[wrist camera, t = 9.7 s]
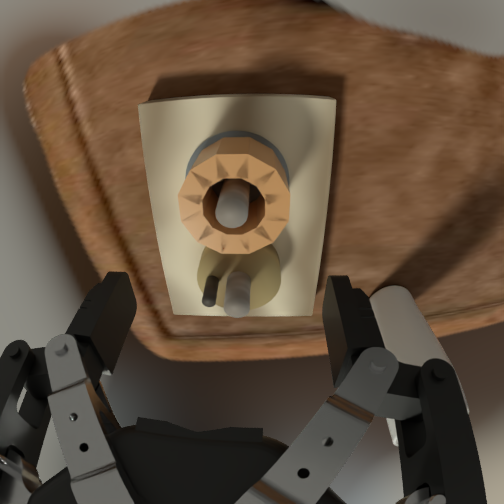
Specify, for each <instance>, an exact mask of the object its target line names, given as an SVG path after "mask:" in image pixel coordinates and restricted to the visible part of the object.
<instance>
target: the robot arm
mask: <svg viewBox="0 0 504 504" xmlns="http://www.w3.org/2000/svg"><path fill="white" fill-rule="evenodd" d="M136 309H137V303H136V298H135V295H134V292H133V289H132V286H131V282H130V279H129V276H128V274H127V273H126V272H108V273H107V275H106V276H105V278H104V280H103V281H102V283H98V284H97V285H95V286H94V287H93V288H92V289H91V290H90V291H89V292H88V294H87V296H86V298H85V299H84V301H83V303H82V304H81V306H80V309H79V310H78V311H77V313H76V315H75V317H74V319H73V320H72V322H71V324H70V326H69V328H68V329H67V331H66V333H65V334H61V335H58V336H56V337H54V338H52V339H51V340H50V341H49V342H48V344H47V346H46V347H42V348H35V349H31V348H30V347H29V345H28V344H27V343H26V342H25V341H24V340H16V341H14V342H12V343H10V344H9V345H8V346H7V347H6V348H5V350H4V352H3V354H2V356H1V357H0V504H346V503H345V502H344V501H343V500H342V499H341V498H340V497H339V496H338V495H337V494H336V493H335V492H334V491H333V490H331V488H330V487H329V485H330V484H331V483H332V481H333V480H334V478H335V477H336V476H337V474H338V473H339V472H340V470H341V469H342V467H343V466H344V464H345V463H346V461H347V460H348V458H349V457H350V455H351V454H352V452H353V451H354V449H355V448H356V446H357V445H358V443H359V441H360V440H361V438H362V437H363V435H364V433H365V432H366V430H367V428H368V427H369V425H370V423H371V422H372V420H373V417H374V416H379V417H385V418H390V419H394V420H395V426H396V433H397V439H398V447H399V454H400V462H401V471H402V480H403V492H404V498H402V499H401V500H399V501H398V502H396V504H487V500H486V493H485V487H484V481H483V475H482V470H481V465H480V460H479V455H478V451H477V446H476V442H475V438H474V434H473V430H472V426H471V422H470V418H469V415H468V411H467V408H466V404H465V401H464V398H463V394H462V391H461V388H460V385H459V382H458V379H457V376H456V373H455V370H454V369H453V367H452V366H451V365H450V364H449V363H448V362H446V361H445V360H442V359H439V358H432V359H429V360H427V361H426V362H425V363H424V364H423V365H422V367H421V366H416V365H410V364H405V363H402V362H399V361H398V360H397V358H396V357H395V355H394V354H393V353H392V352H390V351H389V350H387V349H386V348H385V345H384V342H383V339H382V335H381V332H380V329H379V326H378V323H377V320H376V318H375V314H374V311H373V309H372V306H371V303H370V300H369V297H368V296H367V295H366V294H365V293H364V292H363V291H362V290H361V289H360V288H355V289H352V286H351V283H350V280H349V277H348V276H347V275H346V276H328V279H327V284H326V290H325V296H324V301H323V309H322V316H323V323H324V329H325V335H326V341H327V347H328V353H329V359H330V365H331V371H332V378H333V385H334V388H336V387H339V388H338V389H337V390H336V392H335V393H334V395H333V396H332V397H331V396H330V397H329V398H328V399H327V400H326V401H325V403H324V404H323V405H322V406H321V408H320V409H319V410H318V412H317V413H316V415H315V416H314V417H313V418H312V420H311V421H310V422H309V423H308V425H307V426H306V427H305V429H304V430H303V431H302V433H301V434H300V435H299V436H298V437H297V439H296V440H295V441H294V442H293V443H292V444H291V446H290V447H289V446H287V445H286V444H284V443H282V442H280V441H278V440H276V439H273V438H270V437H267V436H263V428H238V427H229V428H223V429H217V430H210V431H203V432H195V431H191V430H189V429H186V428H183V427H180V426H178V425H175V424H172V423H169V422H167V421H160V420H153V419H147V418H140V417H138V419H137V423H136V425H131V426H127V427H123V428H122V427H121V426H120V424H119V422H118V421H117V419H116V417H115V415H114V413H113V410H112V408H111V405H110V403H109V401H108V398H107V396H106V393H105V391H104V388H103V386H102V383H101V381H100V377H101V375H102V374H107V375H112V374H113V371H114V368H115V366H116V363H117V360H118V357H119V355H120V352H121V350H122V347H123V344H124V342H125V339H126V337H127V334H128V331H129V329H130V327H131V324H132V322H133V319H134V317H135V314H136ZM23 387H24V388H25V389H26V390H27V392H26V394H25V397H24V399H23V402H22V405H21V407H20V410H19V413H18V412H17V408H16V407H17V402H18V399H19V397H20V394H21V391H22V389H23ZM51 415H52V418H53V422H54V425H55V429H56V433H57V436H58V440H59V443H60V446H61V449H62V452H63V455H64V458H65V461H66V464H67V467H66V468H64V469H63V470H61V471H60V472H59V473H57V474H56V475H55V476H53V477H52V478H51V479H49V480H48V481H46V482H45V483H44V484H42V481H41V480H40V479H39V474H38V471H37V469H36V467H37V463H38V459H39V456H40V452H41V448H42V445H43V441H44V438H45V435H46V431H47V428H48V425H49V422H50V418H51Z"/></svg>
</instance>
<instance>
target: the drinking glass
mask: <svg viewBox="0 0 504 504" xmlns="http://www.w3.org/2000/svg"><path fill="white" fill-rule="evenodd" d="M369 300H370V303H371V306H372V309H373V311H374V314H375V318H376V320H377V323H378V326H379V329H380V332H381V335H382V339H383V342H384V345H385V348H386V349H387V350H389V351H390V352H392V353H393V354H394V355H395V357H396V358H397V360H398V361H399V362H402V363H405V364H410V365H416V366H421V367H422V365H423V364H424V363H425V362H426V361H427V360H429V359H432V358H439V359H442V360H445V361H446V362H448V363H449V364H450V365H451V366H452V364H451V362H450V360H449V359H448V357H447V355H446V353H445V352H444V350H443V348H442V346H441V345H440V343H439V341H438V339H437V338H436V336H435V334H434V333H433V331H432V329H431V328H430V326H429V324H428V323H427V321H426V319H425V318H424V316H423V314H422V313H421V311H420V310H419V308H418V306H417V305H416V303H415V301H414V299H413V297H412V295H411V293H410V292H409V291H408V290H407V289H406V288H404V287H402V286H397V285H393V286H388V287H384V288H382V289H380V290H378V291H377V292H376V293H374V294H373V295H372V296H371V297H370V299H369ZM452 367H453V366H452ZM453 369H454V368H453ZM455 373H456V372H455ZM456 376H457V374H456ZM457 379H458V376H457ZM458 382H459V385H460V388H461V391H462V394H463V398H464V401H465V404H466V408H467V411H468V414H469V408H468V404H467V401H466V398H465V395H464V392H463V389H462V386H461V384H460V381H459V379H458ZM386 419H387V423H388V427H389V430H390V434H391V437H392V440H393V444H394V445H396V446H398V439H397V433H396V426H395V420H394V419H390V418H386Z"/></svg>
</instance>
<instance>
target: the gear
mask: <svg viewBox="0 0 504 504" xmlns="http://www.w3.org/2000/svg"><path fill="white" fill-rule="evenodd" d="M224 178H242V179H244V180H246V181H248V182H249V183H251V184H253V185H255V186H257V188H258V189H259V191H260V192H261V194H260V195H259V197H258V199H257V200H255V201H253V202H251V203H249V207H248V218H247V220H246V222H245V223H244V224H243V225H242V226H240V227H237V228H228V227H225V226H223V225H221V224H220V223H219V222H218V220H217V218H216V214H215V212H216V207H217V204H218V200H219V198H218V197H217V195H216V194H215V192H214V191H213V189H212V185H213V184H215V183H217V182H219V181H220V180H222V179H224ZM178 202H179V210H180V218H181V222H182V223H183V224H184V226H185V227H186V228H187V230H188V231H189V232H190V233H191V235H192V236H193V237H194V239H195V240H196V241H197V242H198V243H200V244H202V245H204V246H207V247H209V248H211V249H213V250H215V251H217V252H219V253H221V254H250V253H252V252H254V251H256V250H258V249H261V248H263V247H265V246H267V245H269V244H271V243H273V242H274V241H275V240H276V238H277V237H278V235H279V234H280V233H281V231H282V230H283V229H284V227H285V226H286V224H287V223H288V222H289V211H290V191H289V186H288V182H287V177H286V173H285V170H284V168H283V166H282V165H281V163H280V161H279V160H278V158H277V156H276V154H275V153H274V151H273V150H272V149H271V148H269V147H267V146H265V145H264V144H262V143H260V142H258V141H256V140H254V139H253V138H251V137H224V138H222V139H220V140H218V141H217V142H215V143H213V144H211V145H210V146H208V147H206V148H205V149H203V150H202V151H201V152H200V154H199V156H198V157H197V159H196V161H195V162H194V164H193V166H192V168H191V169H190V171H189V173H188V175H187V177H186V179H185V181H184V183H183V185H182V187H181V189H180V191H179V193H178Z"/></svg>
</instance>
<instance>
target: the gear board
mask: <svg viewBox="0 0 504 504" xmlns="http://www.w3.org/2000/svg"><path fill="white" fill-rule="evenodd" d="M138 110H139V120H140V129H141V138H142V146H143V154H144V161H145V168H146V175H147V182H148V188H149V194H150V201H151V207H152V212H153V218H154V224H155V229H156V234H157V240H158V245H159V250H160V255H161V259H162V264H163V269H164V274H165V278H166V283H167V287H168V291H169V296H170V300H171V304H172V308H173V312H174V314H179V315H208V316H231V317H235V318H240V317H244V316H312V313H313V307H314V301H315V294H316V288H317V282H318V275H319V268H320V261H321V254H322V247H323V239H324V231H325V223H326V215H327V206H328V197H329V188H330V177H331V167H332V156H333V143H334V130H335V115H336V100H335V99H333V98H331V97H328V96H314V95H295V94H222V95H203V96H189V97H177V98H167V99H158V100H150V101H146V102H143V103H141V104H138ZM224 137H251V138H253V139H254V140H256V141H258V142H260V143H262V144H264V145H265V146H267V147H269V148H271V149H272V150H273V151H274V153H275V154H276V156H277V158H278V160H279V161H280V163H281V165H282V166H283V168H284V170H285V173H286V177H287V182H288V186H289V191H290V211H289V222H288V223H287V224H286V226H285V227H284V229H283V230H282V231H281V233H280V234H279V235H278V237H277V238H276V240H275V241H274V242H273V243H271V244H269V245H267V246H265V247H263V248H261V249H258V250H256V251H254V252H252V253H250V254H221V253H219V252H217V251H215V250H213V249H211V248H209V247H207V246H204V245H202V244H200V243H198V242H197V241H196V240H195V239H194V237H193V236H192V235H191V233H190V232H189V231H188V230H187V228H186V227H185V226H184V224H183V223H182V222H181V218H180V210H179V202H178V193H179V191H180V189H181V187H182V185H183V183H184V181H185V179H186V177H187V175H188V173H189V171H190V169H191V168H192V166H193V164H194V162H195V161H196V159H197V157H198V156H199V154H200V152H201V151H202V150H203V149H205V148H206V147H208V146H210V145H211V144H213V143H215V142H217V141H218V140H220V139H222V138H224ZM212 189H213V191H214V192H215V194H216V195H217V197H218V198H219V200H218V204H217V207H216V212H215V214H216V218H217V220H218V222H219V223H220V224H221V225H223V226H225V227H228V228H237V227H240V226H242V225H243V224H244V223H245V222H246V220H247V218H248V207H249V203H251V202H253V201H255V200H257V199H258V197H259V195H260V194H261V192H260V191H259V189H258V188H257V186H255V185H253V184H251V183H249V182H248V181H246V180H244V179H242V178H224V179H222V180H220V181H219V182H217V183H215V184H213V185H212Z"/></svg>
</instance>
